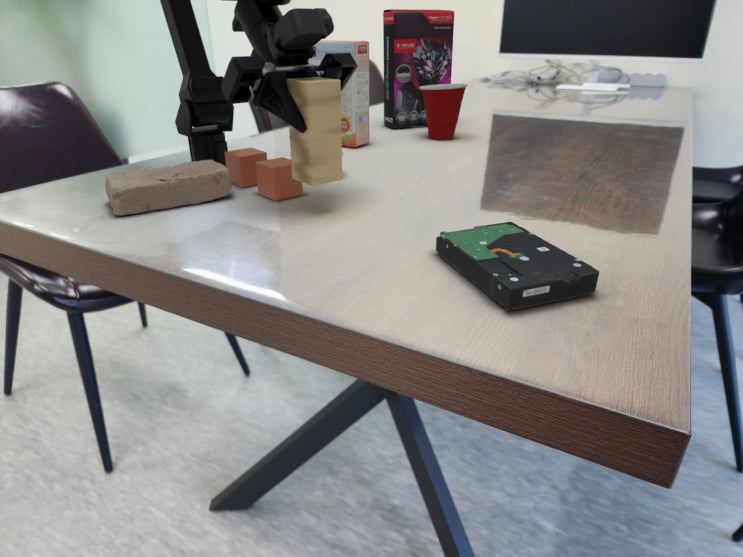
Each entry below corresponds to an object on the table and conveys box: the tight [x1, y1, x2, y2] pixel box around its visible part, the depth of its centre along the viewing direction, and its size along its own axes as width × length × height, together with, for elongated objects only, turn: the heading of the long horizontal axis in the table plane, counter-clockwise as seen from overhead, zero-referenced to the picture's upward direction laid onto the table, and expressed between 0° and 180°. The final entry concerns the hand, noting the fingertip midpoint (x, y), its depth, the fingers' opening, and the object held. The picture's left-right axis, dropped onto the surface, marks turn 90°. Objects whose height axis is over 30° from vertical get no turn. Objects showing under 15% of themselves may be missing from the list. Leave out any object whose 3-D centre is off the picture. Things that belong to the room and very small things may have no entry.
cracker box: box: [308, 39, 370, 148], centre depth 109 cm, size 14×6×21 cm, turn 58°
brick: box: [104, 160, 233, 216], centre depth 75 cm, size 17×8×5 cm, turn 123°
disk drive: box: [435, 221, 600, 311], centre depth 53 cm, size 10×3×15 cm
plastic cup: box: [420, 83, 468, 141], centre depth 117 cm, size 11×11×12 cm
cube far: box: [225, 147, 268, 189], centre depth 84 cm, size 5×5×5 cm
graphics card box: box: [382, 8, 456, 129], centre depth 128 cm, size 17×7×27 cm, turn 115°
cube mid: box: [255, 156, 304, 202], centre depth 78 cm, size 5×5×5 cm
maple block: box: [287, 77, 343, 187], centre depth 67 cm, size 5×5×13 cm
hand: (321, 128), depth 66 cm, fingers closed on maple block, 5 cm apart
